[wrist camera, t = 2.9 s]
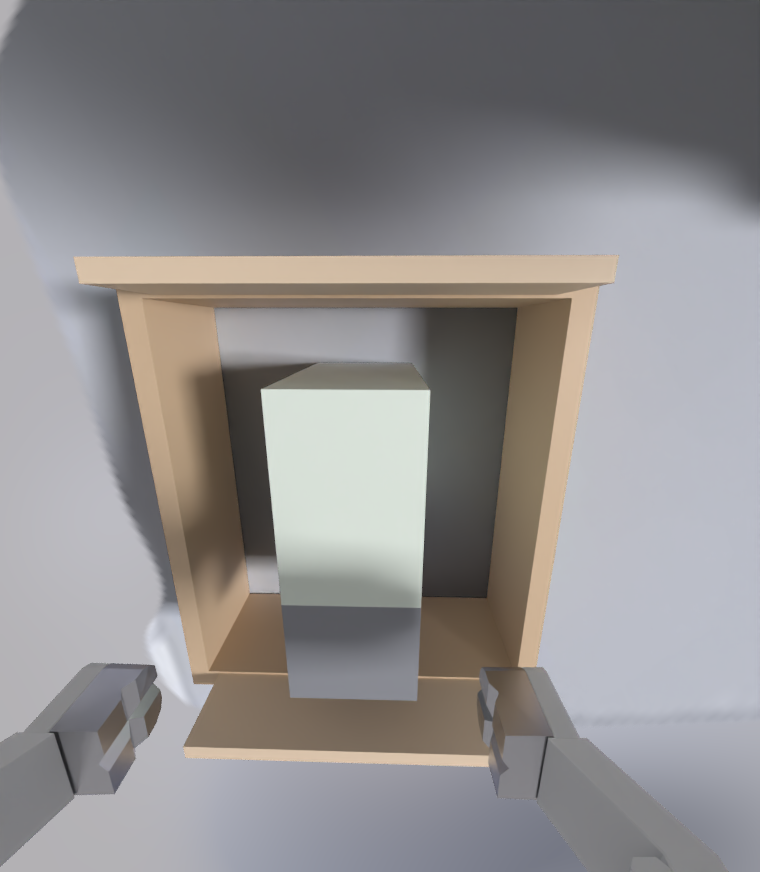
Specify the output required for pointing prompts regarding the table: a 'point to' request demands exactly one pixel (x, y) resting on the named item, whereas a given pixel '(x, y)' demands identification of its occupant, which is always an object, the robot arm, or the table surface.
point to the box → (349, 525)
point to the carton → (219, 510)
